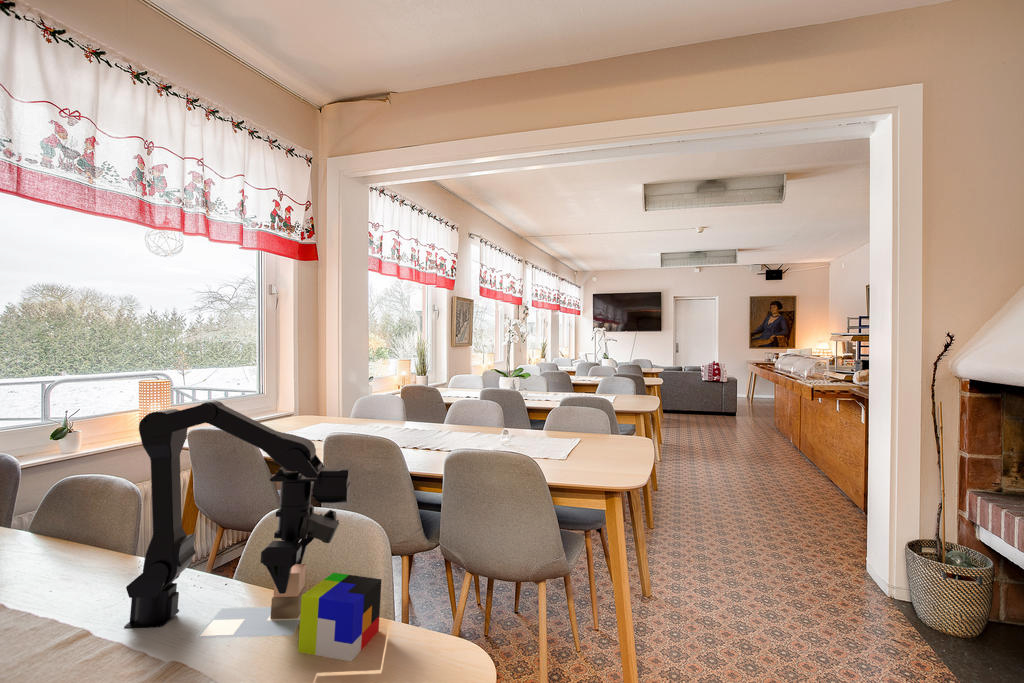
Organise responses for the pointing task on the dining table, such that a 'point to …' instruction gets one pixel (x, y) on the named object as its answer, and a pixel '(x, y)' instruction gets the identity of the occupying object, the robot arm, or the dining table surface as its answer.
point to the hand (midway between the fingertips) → (289, 582)
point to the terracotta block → (293, 582)
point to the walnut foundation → (286, 606)
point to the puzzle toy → (339, 616)
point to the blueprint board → (247, 624)
